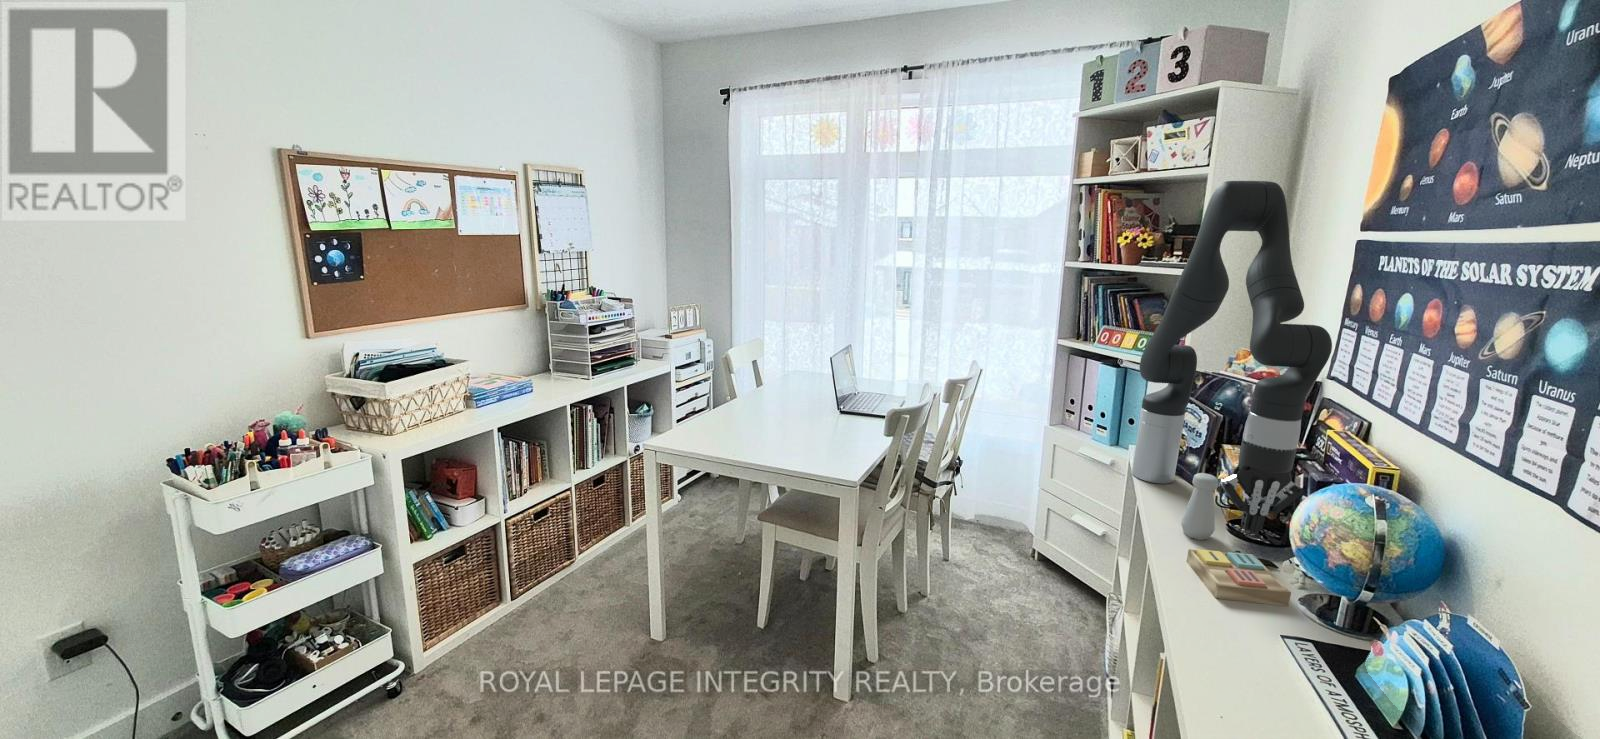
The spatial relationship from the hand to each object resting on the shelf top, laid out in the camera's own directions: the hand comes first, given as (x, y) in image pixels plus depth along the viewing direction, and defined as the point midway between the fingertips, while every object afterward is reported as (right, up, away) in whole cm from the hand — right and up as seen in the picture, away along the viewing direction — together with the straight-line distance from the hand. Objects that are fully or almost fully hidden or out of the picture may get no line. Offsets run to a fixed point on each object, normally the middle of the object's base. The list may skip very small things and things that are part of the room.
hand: (1250, 531), depth 111 cm
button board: (-3, -9, -1) cm, 9 cm away
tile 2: (0, -8, +2) cm, 8 cm away
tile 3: (-4, -9, -4) cm, 10 cm away
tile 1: (-5, -7, +3) cm, 9 cm away
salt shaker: (0, -5, +16) cm, 17 cm away
